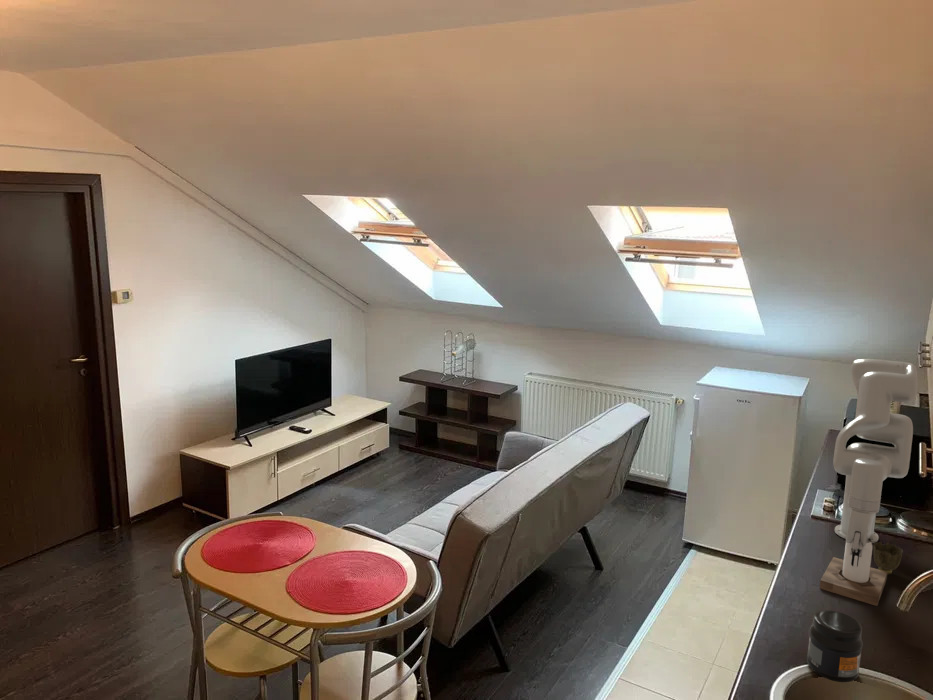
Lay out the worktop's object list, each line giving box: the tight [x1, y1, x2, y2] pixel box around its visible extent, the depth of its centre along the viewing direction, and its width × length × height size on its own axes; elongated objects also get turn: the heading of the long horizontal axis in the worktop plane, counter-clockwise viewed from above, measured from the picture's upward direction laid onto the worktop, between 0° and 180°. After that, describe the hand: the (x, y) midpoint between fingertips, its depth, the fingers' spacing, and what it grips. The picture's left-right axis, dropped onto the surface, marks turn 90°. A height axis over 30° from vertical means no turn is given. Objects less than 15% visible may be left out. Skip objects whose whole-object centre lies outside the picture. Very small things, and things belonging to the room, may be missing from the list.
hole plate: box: [819, 556, 888, 607], centre depth 189 cm, size 18×14×2 cm
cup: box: [872, 541, 904, 576], centre depth 196 cm, size 8×7×8 cm
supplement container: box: [806, 609, 864, 683], centre depth 151 cm, size 10×10×12 cm
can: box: [842, 536, 873, 583], centre depth 187 cm, size 6×6×12 cm
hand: (856, 563), depth 188 cm, fingers closed on can, 4 cm apart
